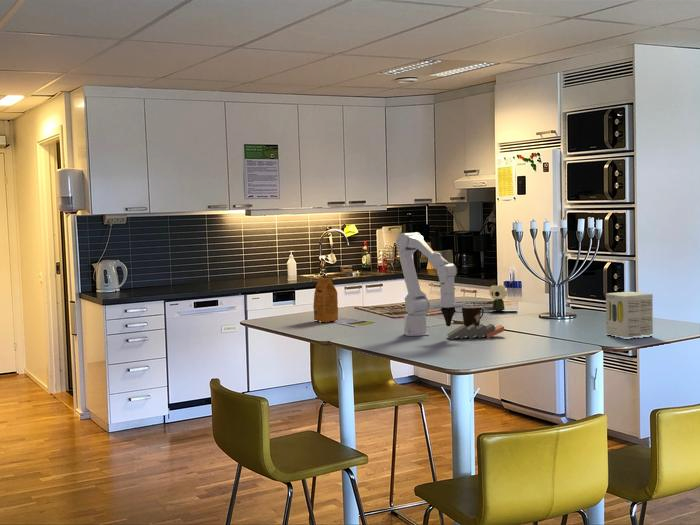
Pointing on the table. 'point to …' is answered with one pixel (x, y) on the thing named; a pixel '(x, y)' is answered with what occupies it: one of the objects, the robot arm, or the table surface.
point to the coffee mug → (472, 315)
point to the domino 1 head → (457, 332)
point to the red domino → (495, 331)
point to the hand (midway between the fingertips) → (448, 325)
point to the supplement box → (629, 314)
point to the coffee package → (325, 301)
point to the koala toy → (498, 297)
